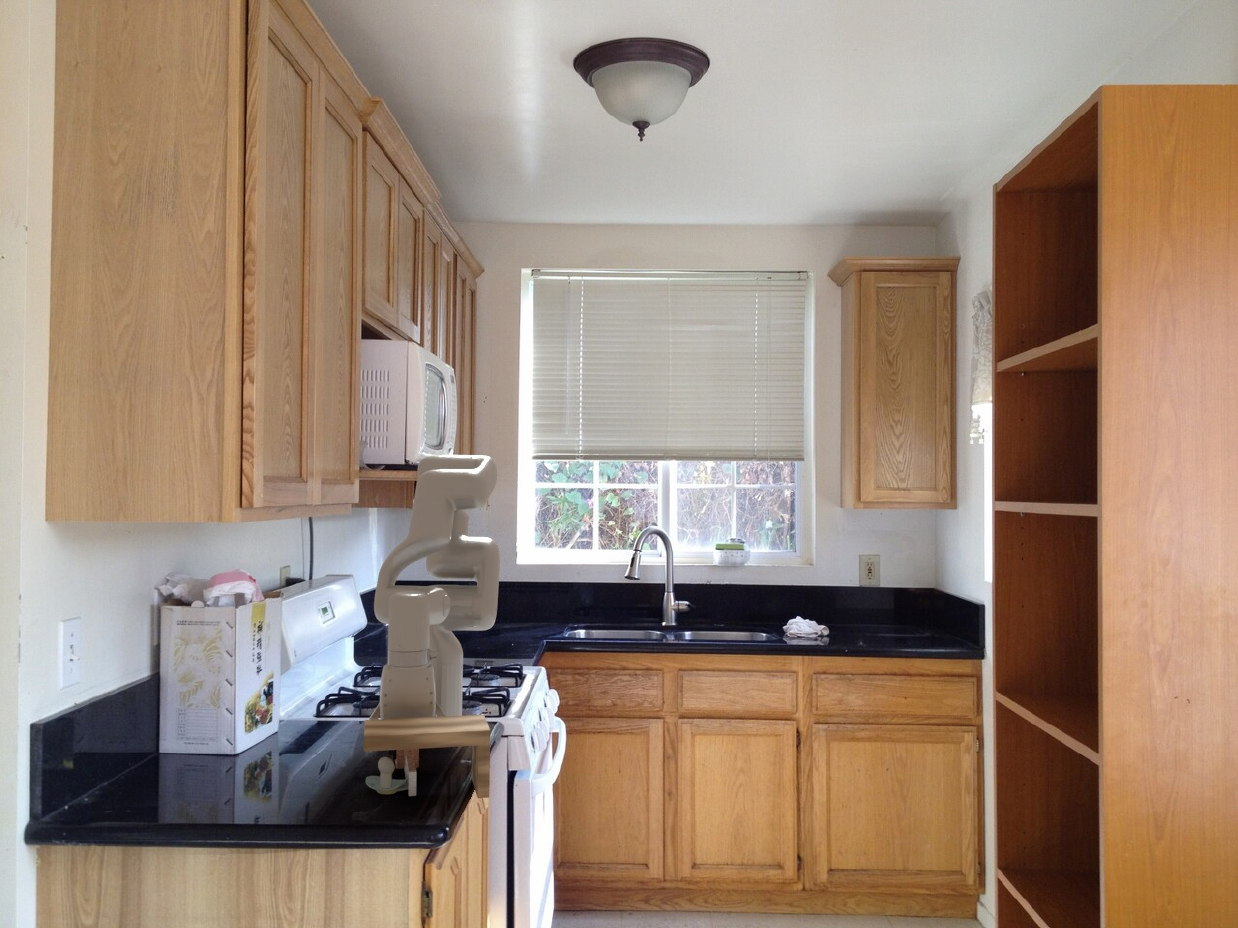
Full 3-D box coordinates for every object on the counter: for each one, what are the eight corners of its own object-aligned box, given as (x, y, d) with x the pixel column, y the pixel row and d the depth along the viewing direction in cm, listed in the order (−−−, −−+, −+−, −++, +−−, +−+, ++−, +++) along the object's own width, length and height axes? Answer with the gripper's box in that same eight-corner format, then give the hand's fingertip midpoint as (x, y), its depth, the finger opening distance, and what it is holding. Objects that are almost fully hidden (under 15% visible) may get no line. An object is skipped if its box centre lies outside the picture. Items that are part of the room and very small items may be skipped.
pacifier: (379, 784, 170) (361, 793, 164) (380, 748, 170) (362, 756, 164) (416, 788, 168) (398, 798, 162) (417, 752, 168) (400, 760, 162)
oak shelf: (363, 785, 169) (364, 720, 169) (482, 777, 174) (483, 714, 174) (362, 805, 158) (363, 736, 158) (489, 797, 163) (490, 730, 163)
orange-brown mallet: (395, 762, 178) (396, 713, 178) (417, 760, 179) (418, 712, 179) (400, 796, 158) (401, 742, 159) (424, 794, 160) (425, 740, 160)
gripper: (452, 653, 182) (450, 748, 182) (361, 656, 178) (360, 754, 178) (455, 660, 175) (454, 760, 175) (361, 664, 171) (360, 766, 171)
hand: (406, 756), depth 176 cm, fingers closed on orange-brown mallet, 4 cm apart
